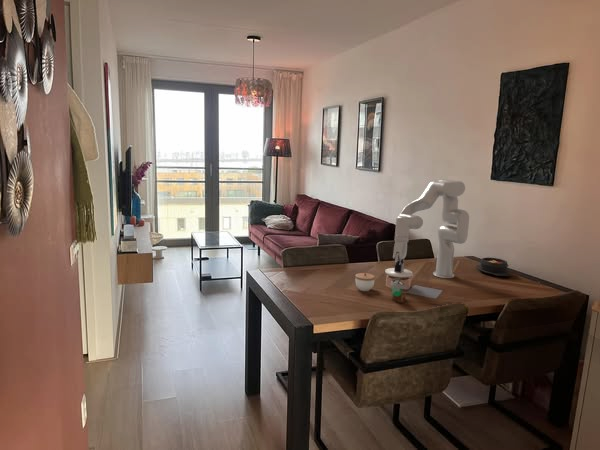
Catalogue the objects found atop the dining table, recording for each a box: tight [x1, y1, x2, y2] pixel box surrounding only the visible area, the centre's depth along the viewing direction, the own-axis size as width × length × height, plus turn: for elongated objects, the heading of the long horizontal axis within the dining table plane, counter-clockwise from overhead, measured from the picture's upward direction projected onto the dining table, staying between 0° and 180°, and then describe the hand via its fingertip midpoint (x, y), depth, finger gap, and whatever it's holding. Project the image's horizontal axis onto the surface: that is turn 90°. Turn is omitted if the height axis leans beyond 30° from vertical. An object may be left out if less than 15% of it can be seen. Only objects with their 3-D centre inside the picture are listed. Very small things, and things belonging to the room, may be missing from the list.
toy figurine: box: [391, 278, 408, 304], centre depth 222 cm, size 12×6×10 cm, turn 5°
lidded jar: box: [354, 272, 376, 292], centre depth 237 cm, size 11×11×9 cm
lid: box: [384, 262, 413, 278], centre depth 242 cm, size 15×15×6 cm
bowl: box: [385, 274, 412, 291], centre depth 243 cm, size 13×13×6 cm
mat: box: [406, 284, 444, 300], centre depth 236 cm, size 16×16×1 cm
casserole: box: [475, 257, 512, 277], centre depth 280 cm, size 25×19×8 cm
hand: (399, 270), depth 242 cm, fingers closed on lid, 4 cm apart
